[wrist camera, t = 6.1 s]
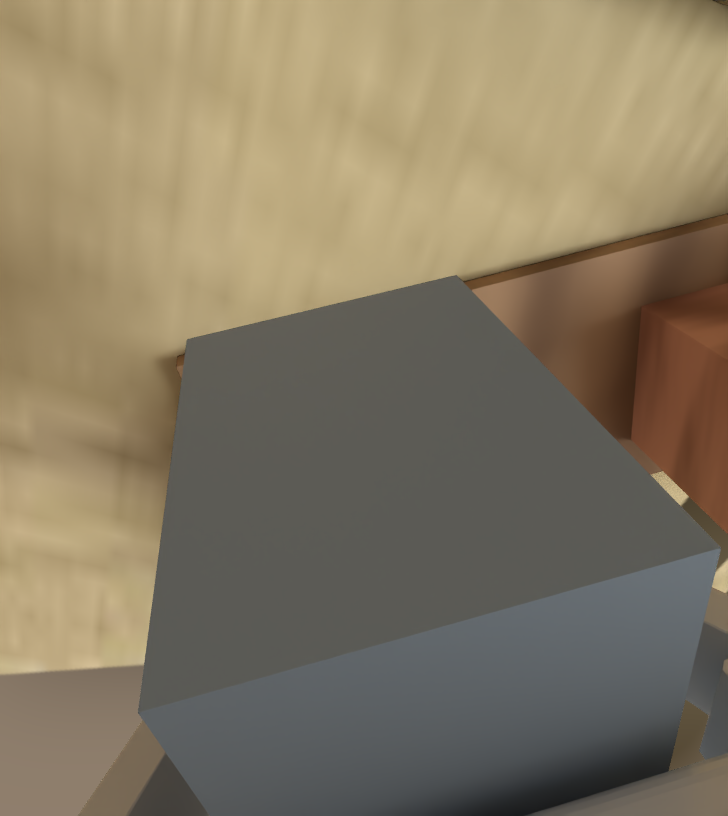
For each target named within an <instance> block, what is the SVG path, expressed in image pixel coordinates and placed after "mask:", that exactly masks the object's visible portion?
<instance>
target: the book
mask: <svg viewBox="0 0 728 816" xmlns="http://www.w3.org/2000/svg"><path fill="white" fill-rule="evenodd" d="M720 550H721V548H720V546H719V545H718V544H717V543H716V542H715V541H714V540H713V539H712V538H711V537H710V536H709V535H708V534H707V533H706V532H705V531H704V530H703V529H702V528H701V527H700V526H699V525H698V524H697V523H696V522H695V521H694V520H693V519H692V518H691V516H690V515H689V514H688V513H687V512H686V511H685V510H684V509H683V508H682V507H681V506H680V505H679V504H678V503H677V502H676V501H675V500H674V499H673V498H672V497H671V496H670V495H669V494H668V493H667V492H666V491H665V490H664V489H663V488H662V487H661V486H660V484H659V483H658V482H657V481H656V480H655V479H654V478H653V477H652V476H651V475H650V474H649V473H648V472H647V471H646V470H645V469H644V468H643V467H642V466H641V465H640V464H639V463H638V462H637V461H636V460H635V459H634V458H633V457H632V456H631V455H630V454H629V453H628V451H627V450H626V449H625V448H624V447H623V446H622V445H621V444H620V443H619V442H618V441H617V440H616V439H615V438H614V437H613V436H612V435H611V434H610V433H609V432H608V431H607V430H606V429H605V428H604V427H603V426H602V425H601V424H600V423H599V422H598V421H597V419H596V418H595V417H594V416H593V415H592V414H591V413H590V412H589V411H588V410H587V409H586V408H585V407H584V406H583V405H582V404H581V403H580V402H579V401H578V400H577V399H576V398H575V397H574V396H573V395H572V394H571V393H570V392H569V391H568V390H567V389H566V388H565V386H564V385H563V384H562V383H561V382H560V381H559V380H558V379H557V378H556V377H555V376H554V375H553V374H552V373H551V372H550V371H549V370H548V369H547V368H546V367H545V366H544V365H543V364H542V363H541V362H540V361H539V360H538V359H537V358H536V357H535V356H534V354H533V353H532V352H531V351H530V350H529V349H528V348H527V347H526V346H525V345H524V344H523V343H522V342H521V341H520V340H519V339H518V338H517V337H516V336H515V335H514V334H513V333H512V332H511V331H510V330H509V329H508V328H507V327H506V326H505V325H504V324H503V323H502V321H501V320H500V319H499V318H498V317H497V316H496V315H495V314H494V313H493V312H492V311H491V310H490V309H489V308H488V307H487V306H486V305H485V304H484V303H483V302H482V301H481V300H480V299H479V298H478V297H477V296H476V295H475V294H474V293H473V292H472V291H471V290H470V288H469V287H468V286H467V285H466V284H465V283H464V282H463V281H462V280H461V279H460V278H459V277H458V276H457V275H455V276H450V277H446V278H442V279H438V280H434V281H429V282H425V283H421V284H417V285H413V286H409V287H404V288H400V289H396V290H392V291H388V292H383V293H379V294H375V295H371V296H367V297H363V298H358V299H354V300H350V301H346V302H342V303H337V304H333V305H329V306H325V307H321V308H316V309H312V310H308V311H304V312H300V313H296V314H291V315H287V316H283V317H279V318H275V319H270V320H266V321H262V322H258V323H254V324H249V325H245V326H241V327H237V328H233V329H229V330H224V331H220V332H216V333H212V334H208V335H203V336H199V337H195V338H191V339H187V342H186V350H185V358H184V365H183V373H182V381H181V388H180V396H179V403H178V411H177V419H176V426H175V434H174V442H173V449H172V457H171V464H170V472H169V480H168V487H167V495H166V503H165V510H164V518H163V525H162V533H161V541H160V548H159V556H158V564H157V571H156V579H155V586H154V594H153V602H152V609H151V617H150V625H149V632H148V640H147V647H146V655H145V663H144V670H143V678H142V686H141V694H140V701H139V708H138V713H139V715H140V716H141V718H142V719H143V721H144V722H145V724H146V725H147V726H148V728H149V729H150V731H151V732H152V734H153V735H154V736H155V738H156V739H157V741H158V742H159V744H160V745H161V747H162V748H163V749H164V751H165V752H166V754H167V755H168V757H169V758H170V759H171V761H172V762H173V764H174V765H175V767H176V768H177V769H178V771H179V772H180V774H181V775H182V777H183V778H184V780H185V781H186V782H187V784H188V785H189V787H190V788H191V790H192V791H193V792H194V794H195V795H196V797H197V798H198V800H199V801H200V803H201V804H202V805H203V807H204V808H205V810H206V811H207V813H208V814H209V815H210V816H525V815H528V814H532V813H535V812H538V811H541V810H545V809H548V808H551V807H554V806H558V805H561V804H564V803H567V802H571V801H574V800H577V799H580V798H584V797H587V796H590V795H593V794H597V793H600V792H603V791H606V790H609V789H613V788H616V787H619V786H622V785H626V784H629V783H632V782H635V781H639V780H642V779H645V778H648V777H652V776H655V775H658V774H661V773H665V772H668V771H669V766H670V762H671V758H672V753H673V749H674V745H675V741H676V737H677V732H678V728H679V724H680V720H681V715H682V711H683V707H684V702H685V698H686V694H687V690H688V686H689V681H690V677H691V673H692V669H693V664H694V660H695V656H696V652H697V648H698V643H699V639H700V635H701V631H702V626H703V622H704V618H705V614H706V609H707V605H708V601H709V597H710V592H711V588H712V584H713V580H714V575H715V571H716V567H717V562H718V558H719V554H720Z"/></svg>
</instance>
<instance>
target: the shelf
mask: <svg viewBox="0 0 728 816" xmlns="http://www.w3.org/2000/svg"><path fill="white" fill-rule="evenodd" d="M464 283H465V284H466V285H467V286H468V287H469V288H470V290H471V291H472V292H473V293H474V294H475V295H476V296H477V297H478V298H479V299H480V300H481V301H482V302H483V303H484V304H485V305H486V306H487V307H488V308H489V309H490V310H491V311H492V312H493V313H494V314H495V315H496V316H497V317H498V318H499V319H500V320H501V321H502V323H503V324H504V325H505V326H506V327H507V328H508V329H509V330H510V331H511V332H512V333H513V334H514V335H515V336H516V337H517V338H518V339H519V340H520V341H521V342H522V343H523V344H524V345H525V346H526V347H527V348H528V349H529V350H530V351H531V352H532V353H533V354H534V356H535V357H536V358H537V359H538V360H539V361H540V362H541V363H542V364H543V365H544V366H545V367H546V368H547V369H548V370H549V371H550V372H551V373H552V374H553V375H554V376H555V377H556V378H557V379H558V380H559V381H560V382H561V383H562V384H563V385H564V386H565V388H566V389H567V390H568V391H569V392H570V393H571V394H572V395H573V396H574V397H575V398H576V399H577V400H578V401H579V402H580V403H581V404H582V405H583V406H584V407H585V408H586V409H587V410H588V411H589V412H590V413H591V414H592V415H593V416H594V417H595V418H596V419H597V421H598V422H599V423H600V424H601V425H602V426H603V427H604V428H605V429H606V430H607V431H608V432H609V433H610V434H611V435H612V436H613V437H614V438H615V439H616V440H617V441H618V442H619V443H620V444H621V445H622V446H623V447H624V448H625V449H626V450H627V451H628V453H629V454H630V455H631V456H632V457H633V458H634V459H635V460H636V461H637V462H638V463H639V464H640V465H641V466H642V467H643V468H644V469H645V470H646V471H647V472H648V473H649V474H654V473H657V472H661V471H664V472H665V473H666V474H667V475H668V476H669V477H670V478H671V479H672V480H673V481H674V482H675V483H676V484H677V485H678V486H679V487H680V488H681V489H682V490H683V491H684V492H685V493H686V494H687V495H688V496H689V497H690V498H692V500H693V501H694V502H696V504H697V505H698V506H699V507H701V509H702V510H704V512H706V513H707V514H708V515H709V516H710V517H711V518H712V519H713V520H714V521H715V522H716V523H717V524H718V525H719V526H720V527H721V528H722V529H723V530H724V531H725V532H726V533H727V534H728V214H725V215H721V216H717V217H713V218H709V219H706V220H702V221H698V222H694V223H690V224H686V225H682V226H679V227H675V228H671V229H667V230H663V231H659V232H655V233H652V234H648V235H644V236H640V237H636V238H632V239H628V240H625V241H621V242H617V243H613V244H609V245H605V246H601V247H598V248H594V249H590V250H586V251H582V252H578V253H574V254H571V255H567V256H563V257H559V258H555V259H551V260H547V261H544V262H540V263H536V264H532V265H528V266H524V267H520V268H517V269H513V270H509V271H505V272H501V273H497V274H493V275H490V276H486V277H482V278H478V279H474V280H470V281H466V282H464ZM184 358H185V355H181V356H178V358H177V365H176V368H177V370H178V372H179V375H180V377H181V380H182V373H183V365H184Z"/></svg>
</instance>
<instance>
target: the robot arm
mask: <svg viewBox="0 0 728 816" xmlns="http://www.w3.org/2000/svg"><path fill="white" fill-rule="evenodd" d="M685 699H686V700H688V701H689V702H691V703H692V704H693V705H695V706H696V707H698V708H699V709H701V710H702V711H704V712H705V713H706V714H708V715H709V718H708V721H707V725H706V729H705V732H704V736H703V740H702V743H701V747H700V752H701V754H702V755H703V757H704V758H705V760H704V761H700V762H697V763H694V764H691V765H687V766H684V767H681V768H677V769H674V770H671V771H668V772H665V773H661V774H658V775H655V776H652V777H648V778H645V779H642V780H639V781H635V782H632V783H629V784H626V785H622V786H619V787H616V788H613V789H609V790H606V791H603V792H600V793H597V794H593V795H590V796H587V797H584V798H580V799H577V800H574V801H571V802H567V803H564V804H561V805H558V806H554V807H551V808H548V809H545V810H541V811H538V812H535V813H532V814H528V815H525V816H728V594H726V593H723V592H721V591H719V590H717V589H715V588H711V592H710V597H709V601H708V605H707V609H706V614H705V618H704V622H703V626H702V631H701V635H700V639H699V643H698V648H697V652H696V656H695V660H694V664H693V669H692V673H691V677H690V681H689V686H688V690H687V694H686V698H685ZM78 816H210V815H209V814H208V813H207V811H206V810H205V808H204V807H203V805H202V804H201V803H200V801H199V800H198V798H197V797H196V795H195V794H194V792H193V791H192V790H191V788H190V787H189V785H188V784H187V782H186V781H185V780H184V778H183V777H182V775H181V774H180V772H179V771H178V769H177V768H176V767H175V765H174V764H173V762H172V761H171V759H170V758H169V757H168V755H167V754H166V752H165V751H164V749H163V748H162V747H161V745H160V744H159V742H158V741H157V739H156V738H155V736H154V735H153V734H152V732H151V731H150V729H149V728H148V726H147V725H146V724H145V722H144V721H143V720H142V722H141V723H140V725H139V726H138V728H137V729H136V731H135V732H134V734H133V735H132V737H131V738H130V740H129V741H128V743H127V744H126V746H125V747H124V748H123V750H122V751H121V753H120V755H119V756H118V757H117V759H116V760H115V762H114V763H113V765H112V766H111V768H110V769H109V771H108V772H107V773H106V775H105V777H104V778H103V779H102V781H101V783H100V784H99V785H98V787H97V788H96V790H95V791H94V793H93V794H92V796H91V797H90V799H89V800H88V802H87V803H86V805H85V806H84V808H83V809H82V810H81V812H80V813H79V815H78Z"/></svg>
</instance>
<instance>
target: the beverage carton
mask: <svg viewBox="0 0 728 816" xmlns="http://www.w3.org/2000/svg"><path fill="white" fill-rule="evenodd" d="M714 1H716V2H719V3H721V4H724V5H727V6H728V0H714Z"/></svg>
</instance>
